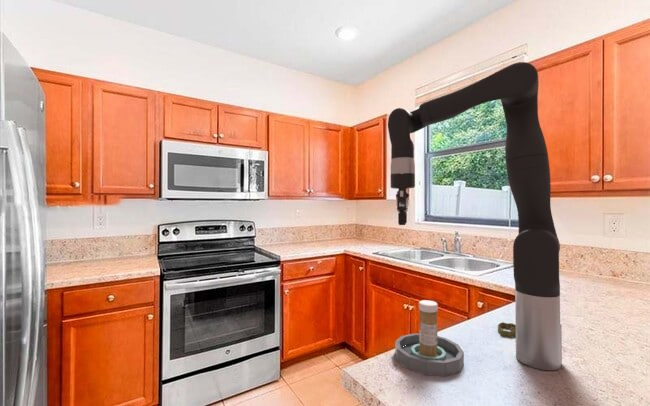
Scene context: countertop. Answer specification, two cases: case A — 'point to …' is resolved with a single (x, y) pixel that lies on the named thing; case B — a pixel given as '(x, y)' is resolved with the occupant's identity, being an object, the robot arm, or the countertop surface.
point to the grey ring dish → (442, 365)
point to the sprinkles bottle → (428, 328)
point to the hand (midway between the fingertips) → (402, 224)
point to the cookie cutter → (508, 326)
